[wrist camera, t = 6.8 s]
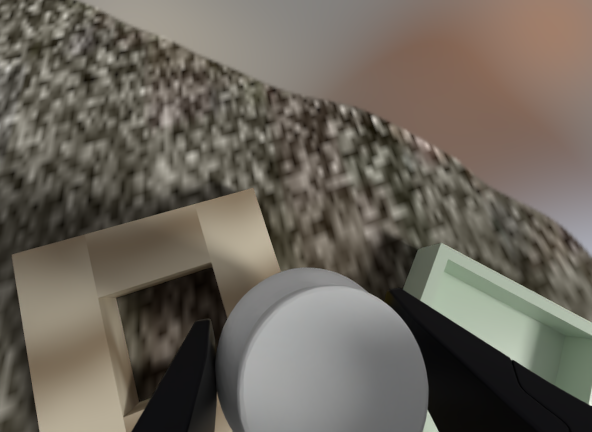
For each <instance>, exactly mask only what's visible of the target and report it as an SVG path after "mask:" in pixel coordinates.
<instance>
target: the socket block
mask: <svg viewBox="0 0 592 432" xmlns="http://www.w3.org/2000/svg"><path fill="white" fill-rule="evenodd" d="M12 261H13V267H14V274H15V280H16V286H17V292H18V299H19V305H20V311H21V318H22V324H23V330H24V336H25V343H26V349H27V355H28V361H29V368H30V374H31V380H32V387H33V393H34V399H35V405H36V412H37V418H38V424H39V430H40V432H131V431H132V430H133V428H134V426H135V424H136V423H137V421H138V419H139V417H140V416H141V414H142V412H143V411H144V409H145V407H146V405H147V404H148V402H149V400H150V399H151V398H149V399H146V400H144V401H141V402H139V399H138V395H137V390H136V385H135V381H134V376H133V372H132V367H131V363H130V358H129V354H128V349H127V345H126V340H125V336H124V331H123V327H122V322H121V317H120V313H119V308H118V304H117V299H116V298H117V297H120V296H124V295H127V294H130V293H133V292H136V291H139V290H142V289H145V288H148V287H152V286H155V285H158V284H161V283H164V282H167V281H170V280H173V279H176V278H180V277H183V276H186V275H189V274H192V273H195V272H198V271H201V270H204V269H208V268H211V267H213V270H214V273H215V277H216V280H217V284H218V287H219V291H220V294H221V298H222V301H223V305H224V308H225V312H226V315H227V319H228V317H229V315H230V313H231V312H232V310H233V309H234V307H235V306H236V304H237V303H238V302H239V300H240V299H241V298H242V297H243V296H244V295H245V294H246V293H247V292H248V291H249V290H251V289H252V288H253V287H254V286H255V285H257V284H258V283H260V282H261V281H263V280H264V279H266V278H268V277H270V276H272V275H274V274H277V273H280V272H281V271H280V268H279V265H278V262H277V259H276V256H275V253H274V250H273V247H272V244H271V241H270V238H269V235H268V232H267V229H266V226H265V223H264V220H263V216H262V213H261V210H260V207H259V204H258V201H257V198H256V195H255V192H254V189H253V188H251V189H247V190H244V191H240V192H237V193H233V194H229V195H226V196H222V197H218V198H215V199H211V200H208V201H204V202H200V203H197V204H193V205H189V206H186V207H182V208H179V209H175V210H171V211H168V212H164V213H160V214H157V215H153V216H150V217H146V218H142V219H139V220H135V221H131V222H128V223H124V224H121V225H117V226H113V227H110V228H106V229H102V230H99V231H95V232H92V233H88V234H84V235H81V236H77V237H73V238H70V239H66V240H63V241H59V242H55V243H52V244H48V245H44V246H41V247H37V248H34V249H30V250H26V251H23V252H19V253H15V254H12ZM215 432H233V431H232V429H231V428H230V426H229V424H228V422H227V420H226V419H225V416H224V414H223V411H222V409H221V406H220V402H219V399H218V394H217V407H216V420H215Z"/></svg>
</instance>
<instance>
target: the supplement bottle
mask: <svg viewBox="0 0 592 432" xmlns="http://www.w3.org/2000/svg"><path fill="white" fill-rule="evenodd" d="M215 378H216V388H217V394H218V399H219V402H220V406H221V409H222V411H223V414H224V416H225V419H226V420H227V422H228V424H229V426H230V428H231V429H232V431H233V432H423V429H424V425H425V422H426V417H427V410H428V388H429V387H428V379H427V372H426V368H425V364H424V360H423V357H422V354H421V351H420V349H419V346H418V344H417V342H416V340H415V338H414V336H413V334H412V332H411V331H410V329H409V328H408V326H407V325H406V323H405V322H404V321H403V320H402V318H401V317H400V316H399V315H398V314H397V313H396V312H395V311H394V310H393V309H392V308H391V307H390V306H389V305H387V304H386V303H385V302H383V301H382V300H381V299H379V298H377V297H376V296H374V295H372V294H370V293H368V292H367V291H366V290H365V289H363V288H362V287H361V286H360V285H358V284H357V283H355V282H354V281H352V280H351V279H349V278H347V277H345V276H343V275H341V274H338V273H336V272H333V271H329V270H325V269H319V268H296V269H290V270H286V271H283V272H280V273H277V274H274V275H272V276H270V277H268V278H266V279H264V280H263V281H261V282H260V283H258V284H257V285H255V286H254V287H253V288H252V289H251V290H249V291H248V292H247V293H246V294H245V295H244V296H243V297H242V298H241V299H240V300H239V302H238V303H237V304H236V306H235V307H234V309H233V310H232V312H231V313H230V315H229V317H228V319H227V321H226V322H225V324H224V327H223V329H222V333H221V336H220V339H219V342H218V347H217V351H216V359H215Z"/></svg>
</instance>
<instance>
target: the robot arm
mask: <svg viewBox="0 0 592 432" xmlns="http://www.w3.org/2000/svg"><path fill="white" fill-rule="evenodd" d="M385 303H386V304H387V305H389V306H390V307H391V308H392V309H393V310H394V311H395V312H396V313H397V314H398V315H399V316H400V317H401V318H402V320H403V321H404V322H405V323H406V325H407V326H408V328H409V329H410V331H411V332H412V334H413V336H414V338H415V340H416V342H417V344H418V346H419V349H420V351H421V354H422V357H423V360H424V364H425V368H426V372H427V379H428V387H429V388H428V412H429V414H430V416H431V417H432V419H433V421H434V423H435V425H436V427H437V429H438V431H439V432H592V406H590V405H589V404H587V403H585V402H583V401H581V400H580V399H578V398H576V397H574V396H572V395H571V394H569V393H567V392H566V391H564V390H562V389H560V388H559V387H557V386H555V385H553V384H552V383H550V382H548V381H547V380H545V379H543V378H542V377H540V376H538V375H537V374H535V373H534V372H532V371H530V370H529V369H527V368H525V367H524V366H522V365H521V364H519V363H518V362H516V361H514V360H511V359H510V357H508V356H506V355H505V354H503V353H502V352H500V351H499V350H497V349H496V348H494V347H492V346H491V345H489V344H488V343H486V342H485V341H483V340H481V339H480V338H478V337H477V336H475V335H474V334H472V333H470V332H469V331H467V330H466V329H464V328H463V327H461V326H459V325H458V324H456V323H455V322H453V321H452V320H450V319H449V318H447V317H445V316H444V315H442V314H441V313H439V312H438V311H436V310H434V309H433V308H431V307H430V306H428V305H427V304H425V303H423V302H422V301H420V300H419V299H417V298H416V297H414V296H412V295H411V294H409V293H408V292H406V291H405V290H403V289H401V288H394V289H389V290H387V292H386V297H385ZM215 359H216V347H215V337H214V332H213V327H212V322H211V320H210V319H202V320H197V321H196V322H195V323H194V324H193V326H192V328H191V330H190V331H189V333H188V335H187V337H186V338H185V340H184V342H183V343H182V345H181V347H180V349H179V350H178V352H177V354H176V355H175V357H174V359H173V361H172V362H171V364H170V366H169V368H168V369H167V371H166V373H165V374H164V376H163V378H162V380H161V381H160V383H159V385H158V386H157V388H156V390H155V392H154V393H153V395H152V397H151V399H150V400H149V402H148V404H147V405H146V407H145V409H144V411H143V412H142V414H141V416H140V417H139V419H138V421H137V423H136V424H135V426H134V428H133V430H132V431H131V432H215V420H216V407H217V388H216V378H215Z"/></svg>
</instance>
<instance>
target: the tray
mask: <svg viewBox="0 0 592 432" xmlns="http://www.w3.org/2000/svg"><path fill="white" fill-rule="evenodd" d="M403 290H405V291H406V292H408V293H409V294H411V295H412V296H414V297H416V298H417V299H419V300H420V301H422V302H423V303H425V304H427V305H428V306H430V307H431V308H433V309H434V310H436V311H438V312H439V313H441V314H442V315H444V316H445V317H447V318H449V319H450V320H452V321H453V322H455V323H456V324H458V325H459V326H461V327H463V328H464V329H466V330H467V331H469V332H470V333H472V334H474V335H475V336H477V337H478V338H480V339H481V340H483V341H485V342H486V343H488V344H489V345H491V346H492V347H494V348H496V349H497V350H499V351H500V352H502V353H503V354H505V355H506V356H508V357H510V359H511V360H514V361H516V362H518V363H519V364H521V365H522V366H524V367H525V368H527V369H529V370H530V371H532V372H534V373H535V374H537V375H538V376H540V377H542V378H543V379H545V380H547V381H548V382H550V383H552V384H553V385H555V386H557V387H559V388H560V389H562V390H564V391H566V392H567V393H569V394H571V395H572V396H574V397H576V398H578V399H580V400H581V401H583V402H585V403H587V404H589V405H590V406H592V323H591V322H589V321H587V320H586V319H584V318H582V317H580V316H578V315H576V314H574V313H572V312H571V311H569V310H567V309H565V308H563V307H561V306H559V305H557V304H555V303H554V302H552V301H550V300H548V299H546V298H544V297H542V296H540V295H539V294H537V293H535V292H533V291H531V290H529V289H527V288H525V287H523V286H522V285H520V284H518V283H516V282H514V281H512V280H510V279H508V278H507V277H505V276H503V275H501V274H499V273H497V272H495V271H493V270H492V269H490V268H488V267H486V266H484V265H482V264H480V263H478V262H476V261H475V260H473V259H471V258H469V257H467V256H465V255H463V254H461V253H460V252H458V251H456V250H454V249H452V248H450V247H448V246H446V245H444V244H443V243H439V244H435V245H432V246H428V247H425V248H421V249H418V251H417V254H416V256H415V259H414V261H413V264H412V267H411V269H410V272H409V274H408V277H407V280H406V282H405V285H404V287H403ZM423 432H439V431H438V429H437V427H436V425H435V423H434V421H433V419H432V417H431V416H430V414H429V412H428V410H427V417H426V422H425V425H424V429H423Z"/></svg>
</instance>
